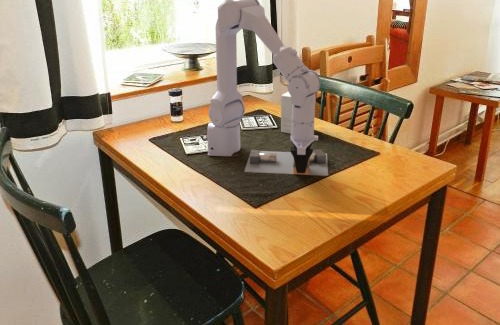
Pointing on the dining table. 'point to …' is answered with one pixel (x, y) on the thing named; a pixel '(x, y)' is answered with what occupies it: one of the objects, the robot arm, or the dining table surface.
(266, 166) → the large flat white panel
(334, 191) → the dining table surface
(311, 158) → the output shaft
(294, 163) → the taped shipping carton
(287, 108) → the supplement box
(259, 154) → the input shaft
